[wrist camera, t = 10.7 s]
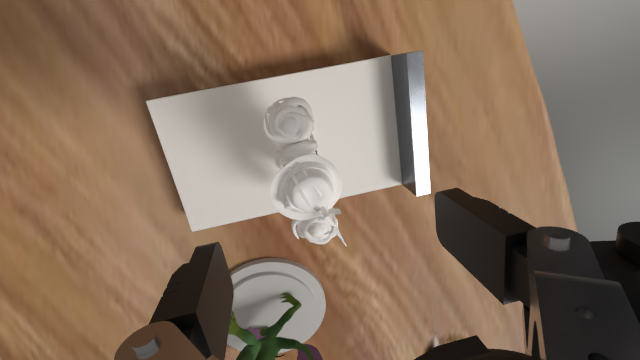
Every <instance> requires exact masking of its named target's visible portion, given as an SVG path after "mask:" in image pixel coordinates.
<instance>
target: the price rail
mask: <svg viewBox="0 0 640 360" xmlns="http://www.w3.org/2000/svg"><path fill="white" fill-rule="evenodd" d="M391 64H392V75H393V87H394V98H395V110H396V121H397V133H398V144H399V155H400V167H401V178H402V185H404V186H405V187H406V188H407V189H408V190H410V191H411V192H412V193H413V194H414V195H416V196H421V195H425V194H429V193H431V192H430V174H429V155H428V137H427V119H426V100H425V82H424V63H423V51H417V52H409V53H402V54H397V55H392V56H391Z"/></svg>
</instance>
